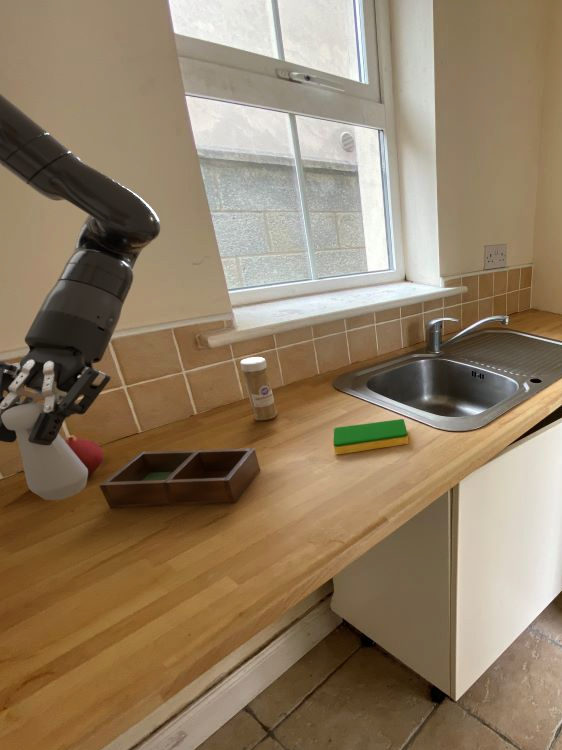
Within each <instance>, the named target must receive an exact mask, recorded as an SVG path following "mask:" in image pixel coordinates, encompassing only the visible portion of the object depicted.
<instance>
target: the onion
mask: <svg viewBox="0 0 562 750" xmlns="http://www.w3.org/2000/svg"><path fill="white" fill-rule="evenodd" d="M64 441H65V442H66V443H67V444H68V446H69V447H70V448H71V449H72V451H73V452H74V453H75V454H76V456H77V457H78V458H79V459H80V460H81V462H82V463H83V464H84V465H85V467H86V468H87V469H88V477H90V476H92V475H93V474H94V473H95V471H96V470H97V469H98V468H99V467H100V465H101V464H102V463H103V462H104V459H105V455H104V454H105V453H104V451H103V450H102V447H100V446H99V445H98V444H97V443H96V442H95V441H92V440H90V439H89V440H88V439H85V438H80V437H79V438H78V437H77V436H75V435H69V436H67V438H66V440H64Z"/></svg>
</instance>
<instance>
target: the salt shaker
mask: <svg viewBox="0 0 562 750" xmlns="http://www.w3.org/2000/svg"><path fill="white" fill-rule="evenodd" d="M43 408H44V403H41V402H36V403H29V404H23V405H19V406H15V407H12V408H10V409H8V410H6V411H5V412H4V413H3V414H2V415H1V418H2V421H3V423H4V425H5V427H6V428H7V429H9V430H14V431H15V432H16V436H17V438H16V441H17V443H18V444H17V445H18V447H19V452H20V456H21V460H22V465H23V466H22V467H23V471H24V474H25V480H26V485H27V487H28V489H29V490H30V491H31V492H32V493H33V494H35V495H37V496H38V497H40V498H42V499H43V500H45V501H61V500H64V499H66V498H70V497H73V496H75V495H78V494H80V492H81V491H83V489H85V487H86V486H87V482H88V478H89V476H88V469H87V468H86V467H85V465H84V464H83V463H82V462H81V460H80V459H79V458H78V457H77V456H76V454H75V453H74V452H73V451H72V449H71V448H70V447H69V446H68V444H67V443H66V442H65V441H66V440H64V438H63V437H62V435H60V432H59V433H58V435H57V437H56V439H55V440H54V441H53V442H52V444H51V445H48V446H47V445H39V444H35V443H30V442H29V441H28V438H29V436H30V434H31V432H32V430H33V427H34V425H35V423H36V421H37V419H38V417H39V415H40V413H44V414H45V413H46V412H44V411H43Z"/></svg>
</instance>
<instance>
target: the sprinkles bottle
mask: <svg viewBox="0 0 562 750" xmlns="http://www.w3.org/2000/svg"><path fill="white" fill-rule="evenodd" d="M239 363H240V368H241V371H242V373H243V377H244V381H245V387H246V390H247V393H248V397H249V402H250V406H251V407H252V412H253V417H254V419H255V420H256V421H260V422H264V421H269V420H272V419H275V418H276V417H277V416H278V411H277V409H276V403H275V399H274V394H273V390H272V387H271V382H270V378H269V374H268V369H267V367H268V365H267V361H266V359H265V358H264V357H261V356H252V357H247V358H244V359H242V360H241V361H240V362H239Z"/></svg>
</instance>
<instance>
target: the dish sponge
mask: <svg viewBox="0 0 562 750" xmlns="http://www.w3.org/2000/svg"><path fill="white" fill-rule="evenodd" d="M407 444H409V434H408V431H407V427H406V423H405V419H403V418H400V419H392V420H384V421H377V422H369V423H362V424H354V425H345V426H338V427H335V428H333V449H334V454H335V455H343V454H350V453H356V452H357V453H358V452H363V451H370V450H377V449H382V448H383V449H384V448H390V447H396V446H403V445H407Z"/></svg>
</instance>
